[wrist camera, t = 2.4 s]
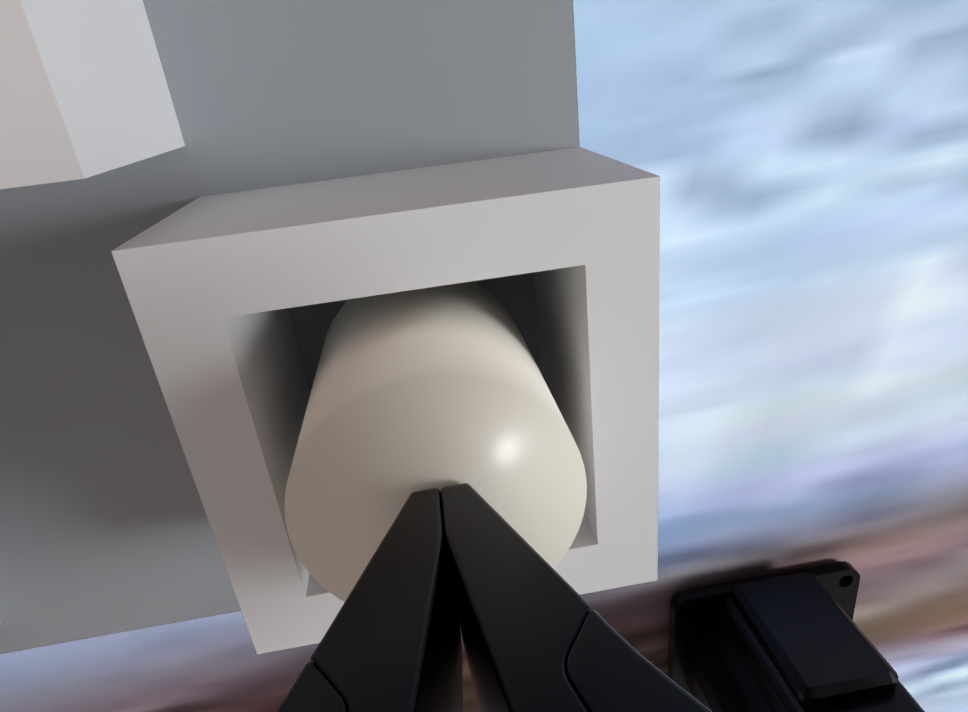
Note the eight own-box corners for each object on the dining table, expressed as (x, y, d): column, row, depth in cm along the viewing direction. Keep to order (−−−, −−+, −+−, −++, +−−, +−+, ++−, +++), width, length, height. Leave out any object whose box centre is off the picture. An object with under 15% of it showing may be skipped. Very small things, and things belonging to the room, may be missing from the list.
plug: (531, 436, 15) (592, 594, 10) (344, 467, 15) (321, 644, 10) (515, 254, 13) (579, 349, 8) (299, 285, 13) (248, 400, 8)
